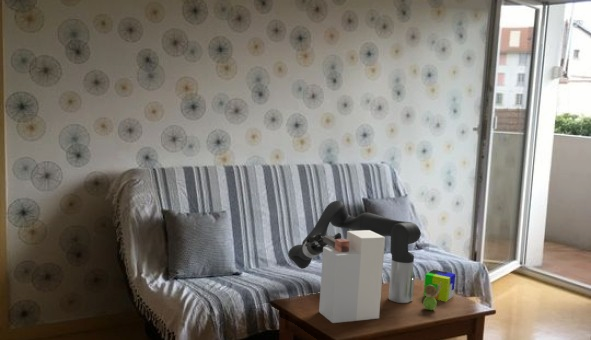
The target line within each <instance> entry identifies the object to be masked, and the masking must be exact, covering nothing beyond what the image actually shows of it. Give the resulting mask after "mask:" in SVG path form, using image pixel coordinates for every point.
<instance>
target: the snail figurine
mask: <svg viewBox="0 0 591 340" xmlns="http://www.w3.org/2000/svg"><path fill="white" fill-rule="evenodd" d="M440 288H441V282H440V285H438V286H437V290H436V288H435V287H434V286H433V285H427V286H426V287H425V292H426V294H425V296H427V297H424V299H423V301H422V302H423V303H422V305H423V307H424V308H425V310H427V311H433V310H435V309H436V308H437V305H438V304H437V303H438V301H437V300H436V299H435V298H433V297H436V296H437V295H438V293H439V290H440Z"/></svg>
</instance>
